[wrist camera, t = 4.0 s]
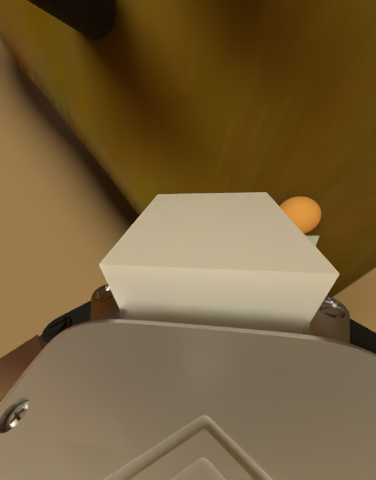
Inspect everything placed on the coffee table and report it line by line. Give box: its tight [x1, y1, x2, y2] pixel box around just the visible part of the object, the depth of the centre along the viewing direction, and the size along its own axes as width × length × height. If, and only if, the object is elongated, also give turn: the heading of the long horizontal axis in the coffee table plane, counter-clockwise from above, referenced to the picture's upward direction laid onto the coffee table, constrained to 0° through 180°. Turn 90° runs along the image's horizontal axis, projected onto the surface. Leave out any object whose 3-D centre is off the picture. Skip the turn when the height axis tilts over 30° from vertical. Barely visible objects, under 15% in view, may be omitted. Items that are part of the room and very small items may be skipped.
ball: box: [279, 196, 321, 234], centre depth 22 cm, size 5×5×5 cm
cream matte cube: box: [99, 192, 339, 334], centre depth 11 cm, size 8×8×8 cm
